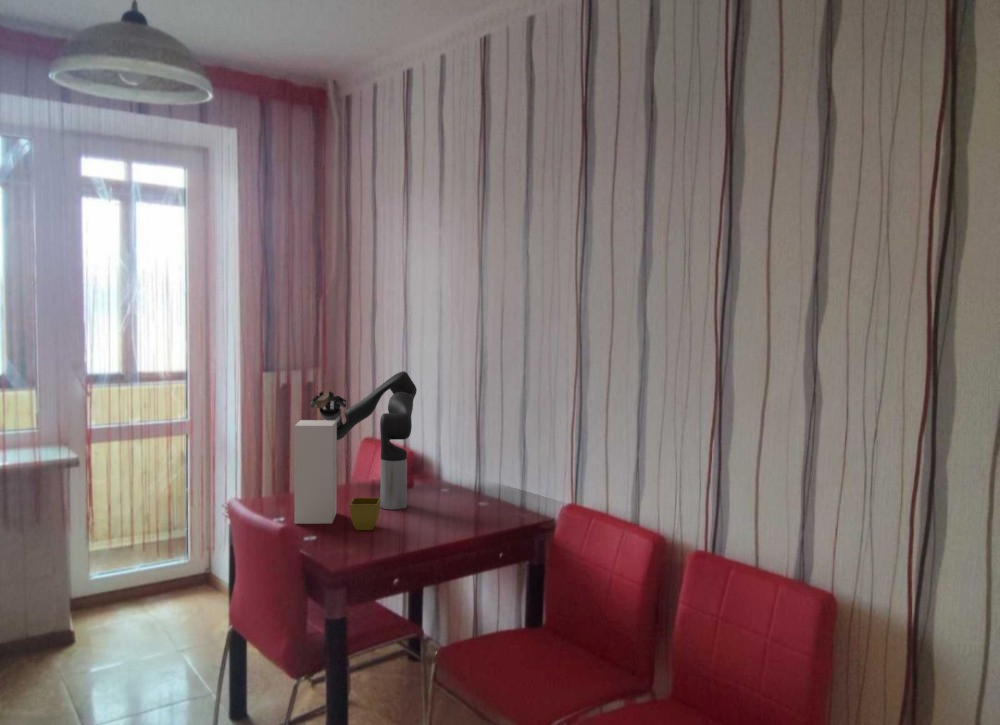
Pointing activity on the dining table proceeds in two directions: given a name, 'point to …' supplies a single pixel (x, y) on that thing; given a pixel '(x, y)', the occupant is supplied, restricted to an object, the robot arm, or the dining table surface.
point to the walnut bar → (323, 400)
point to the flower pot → (364, 512)
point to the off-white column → (315, 471)
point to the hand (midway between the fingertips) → (325, 393)
